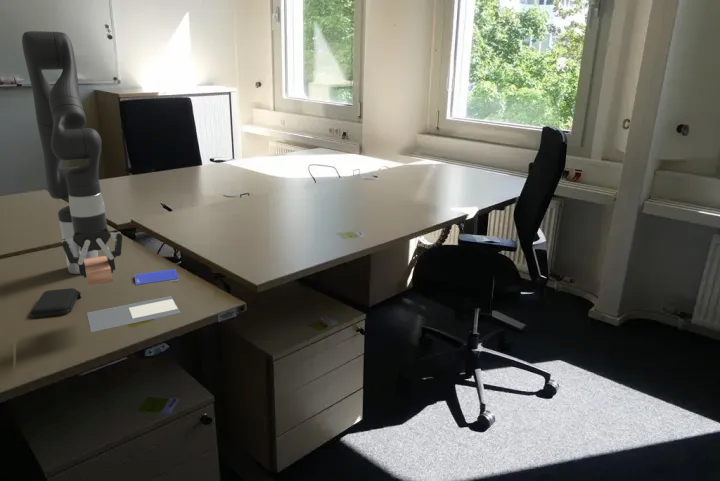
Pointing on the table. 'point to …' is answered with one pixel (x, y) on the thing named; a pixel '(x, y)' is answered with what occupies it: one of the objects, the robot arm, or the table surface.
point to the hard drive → (156, 277)
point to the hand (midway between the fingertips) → (98, 273)
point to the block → (98, 270)
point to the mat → (131, 313)
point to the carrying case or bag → (55, 303)
